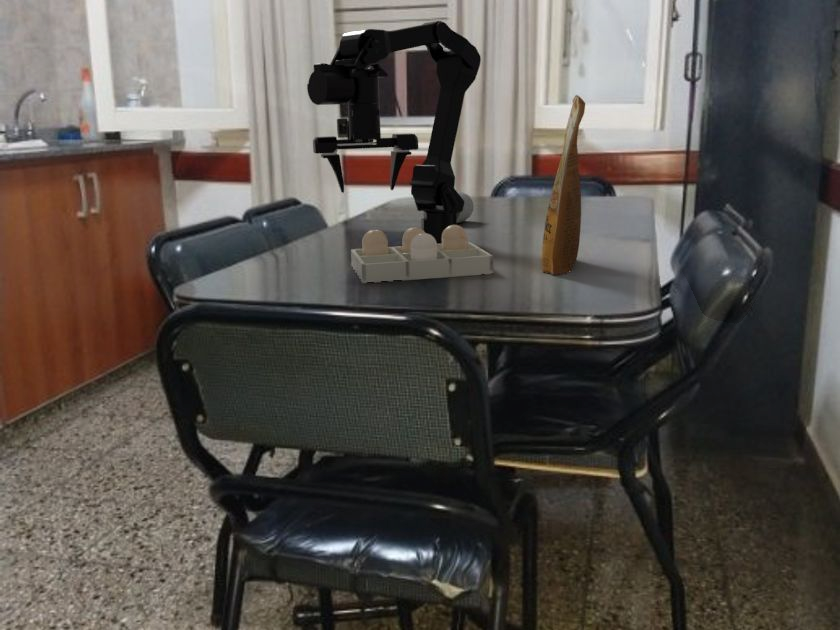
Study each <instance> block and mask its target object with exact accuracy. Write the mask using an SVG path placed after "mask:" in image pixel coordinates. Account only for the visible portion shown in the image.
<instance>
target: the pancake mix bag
mask: <svg viewBox="0 0 840 630" xmlns="http://www.w3.org/2000/svg"><path fill="white" fill-rule="evenodd" d="M585 109H586V102H585V101H584V100H583V98H581V97H580V96H579V95H577V94H576V95H574V97H573V99H572V105H571V108H570V113H569V116H568V120H567V123H566V128H565V135H564V138H563V139H564V140H563V147H562V154H561V156H560V161H559V165H558V168H557V172H556V174H555V175H556V176H555V179H554V183H553V186H552V191H551V194H550V200H549V204H548V207H547V213H546V216H545V217H546V218H545V222H544V230H543V237H542V246H541V247H542V249H541V250H542V252H541V267H542V272H543V273H544V272H545V274H551V275H554V276H555V275H557V274H560V275H563V274H562V273H566V274H568V273H567V272H569V271H571V272H572V270H573V268H574V266H575V263H576V262H577V258H578V253H579V247H580V241H581V240H580V239H581V228H582V227H581V224H582V190H581V178H580V167H579V166H580V163H579V161H580V160H579V152H578V151H579V150H578V134H579V130H580V129H579V128H580V125H581V121H582V120H583V117H584V115H585ZM569 273H570V272H569ZM557 276H558V275H557Z"/></svg>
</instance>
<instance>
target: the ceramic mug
mask: <svg viewBox="0 0 840 630" xmlns="http://www.w3.org/2000/svg"><path fill="white" fill-rule="evenodd" d="M457 193H458V194H459V195H460V196H461V198H462V199H463V200H464V207H463V211H462V212H458V213H457V224H459V223H462V222H465V221H466V220H468V219H469V218H470V217H471V216H472V214H473V213H474V201H473V200H472V198H471V196H469V195H468V194H467V193H465V192H463V191H457ZM436 206H437V205H436Z"/></svg>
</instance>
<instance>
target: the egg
mask: <svg viewBox="0 0 840 630" xmlns="http://www.w3.org/2000/svg"><path fill="white" fill-rule="evenodd" d="M410 248H411V261H414V260H429V259H437V242H436V240H435V238H434V237H433V236H432V235H430V234H427V233H420V234H418V235H416V236H415V237H414V238H413V239H412V241H411V246H410Z"/></svg>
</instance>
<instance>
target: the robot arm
mask: <svg viewBox="0 0 840 630" xmlns="http://www.w3.org/2000/svg"><path fill="white" fill-rule="evenodd" d="M422 46H423V47H424V46H425V47H426V50H427V53H428V57H429V58H430V59H431V60H432V61H433V62H434V63H435V64H436V71H435V72H436V77H437V78H436V79H437V81H438V84H439V87H440V90H439V96H438V100H437V105H436V109H435V113H434V114H435V115H434V120H433V124H432V130H431V134H430V139H429V144H428V149H427V153H426V158H425V160H424V161H423V162H422V163H421V164H415V165H414V166H413V167H412V168H413V169H412V176H411V179H410V182H409V185H410V186H411V189H410V192H411V193H410V194H411V196H412V197H413V200H414V202H415V206H416V210H417V211H418V212H423V218H421V219H420V225H421V227H420V228H421V229H422V230H424V232H425V233H427V234H430V235H432V236H433V237H434V238H435V240H436V242H437V244H442V233H443V231H444V230H445V228H447V227H448V226H450V225H458V223H457V213H458V212H462V211H463V207H464V200H463V199H462V198H461V196H460V195H459V194H458V193H457V192H458V191H457V190H456V189H455V182H456V176H455V174H454V173H455V172H454V170H453V167H452V157H453V154H454V149H455V143H456V139H457V138H456V137H457V133H458V128H459V124H460V120H461V114H462V109H463V104H464V100H465V95H466V92H467V91H468V90H469V88H470V87H471V86H472V84H473V83H474V81H476V78H477V75H478V72H479V69H480V66H481V61H482V58H481V55H480V53H479V51H478V49H477V47H476V46H475V45H473V44H472V43H471V42H470V41H469V40H468V39H467V38H466V37H464V36H462V35H461V34H459V33H458V32H456V31H454V30H453V29H451V27H449V25H448V23H446V22H444V21H442V20H435V21H427V22H423V23H422V24H419V25H413V26H408V27H404V28H399V29H394V30H385V29H374V28H368V29H362V30H361V29H360V30H354V31H348V32H345V33H343V34H342V35H341V39H340V41H339V46H338V48H337V50H336V51H335V54H334V56H333V58H332V59H331V62H330V64H328V63H321V62H320V63H313V71H312V73H311V74H310V76H309V79H308V82H307V86H306V87H307V88H306V89H307V90H306V91H307V95H308V97H309V99H310V101H311V102H312V103H313V104H315V105H317V106H322V105H324V106H325V105H326V106H327V105H333V106H334V105H346V104H347V117H348V118H337V119H336V130H337V136H335V135H334V136H332V135H331V136H329V135H328V136H327V135H326V136H315V137H314V138H313V140H312V150H313V154H320V157H321V158H322V159H327V160H328V163H329V164H330V166H331V168H332V170H333V173H334V176H335V178H336V181H337V183H338V187H339V189H340V192H341V193H342V194H343V193H345V183H344V177H343V169H342V163H341V157H340V154H339V153H337V152H338V150H358V149H359V150H360V149H362V150H363V149H380V148H381V149H382V148H383V149H386V148H392V150H391V151H390V159H391V162H390V173H389V175H390V177H389V184H390V185H389V186H390V191H394V189H395V186H396V184H397V180H398V178H399V177H398V176H399V173H400V172H401V168H402V165H403V164H404V162H405V159H406V157H407V156H412V151H414V150H415V151H418V150H419V139H418V136H417V135H416V134H415V133H392V136H391V137H382V136H381V135H382V134H381V113H380V112H381V110H380V109H381V108H380V107H381V106H380V87H379V85H380V84H379V83H380V82H379V79H380V78H388V75H389V74H388V72H386V70H385V69H384V68H382V67H381V65H380V64H379V63H378V62H381V61H382V60H385V59H386V58H389V57H390V55H392V54H393V53H396V52H399V51H405V50H409V49H413V48H417V47H422ZM368 66H369V67H368ZM337 137H338V139H337ZM341 138H344V139H341ZM436 205H437V206H436Z"/></svg>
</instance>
